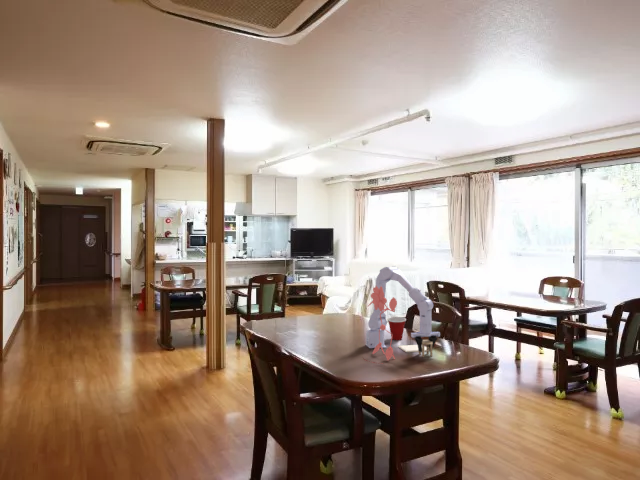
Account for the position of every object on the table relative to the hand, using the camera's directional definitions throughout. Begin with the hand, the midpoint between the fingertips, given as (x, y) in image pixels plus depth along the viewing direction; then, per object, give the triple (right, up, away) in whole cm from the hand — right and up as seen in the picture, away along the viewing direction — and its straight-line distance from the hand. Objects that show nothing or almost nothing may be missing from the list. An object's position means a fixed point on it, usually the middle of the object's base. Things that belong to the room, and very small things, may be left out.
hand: (425, 351), depth 217 cm
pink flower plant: (-24, -2, -6) cm, 25 cm away
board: (-3, -2, +12) cm, 12 cm away
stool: (0, -2, 0) cm, 2 cm away
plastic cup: (-8, -2, +34) cm, 35 cm away
